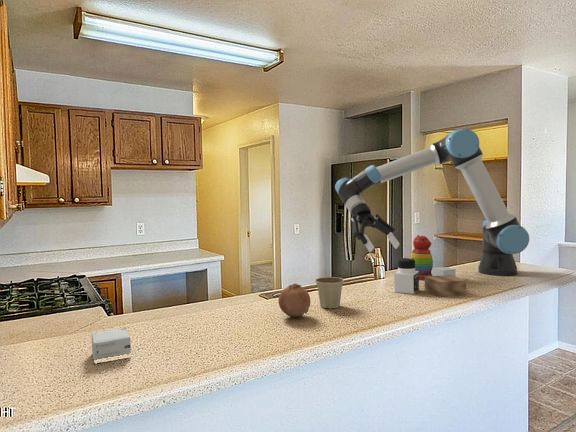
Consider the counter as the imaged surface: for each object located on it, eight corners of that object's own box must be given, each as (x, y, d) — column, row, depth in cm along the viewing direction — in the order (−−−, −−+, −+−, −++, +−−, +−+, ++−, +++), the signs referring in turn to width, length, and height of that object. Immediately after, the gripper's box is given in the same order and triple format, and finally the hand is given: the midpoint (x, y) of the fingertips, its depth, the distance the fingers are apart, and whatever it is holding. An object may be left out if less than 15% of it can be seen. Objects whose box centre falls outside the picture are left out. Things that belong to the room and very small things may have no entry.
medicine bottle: (414, 294, 143) (413, 260, 142) (394, 292, 147) (393, 259, 146) (419, 290, 149) (419, 257, 148) (399, 288, 153) (399, 256, 152)
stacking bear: (438, 280, 165) (438, 236, 164) (413, 280, 165) (413, 237, 164) (430, 275, 175) (429, 234, 174) (406, 275, 176) (406, 234, 175)
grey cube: (444, 281, 163) (443, 266, 162) (455, 284, 157) (455, 269, 157) (432, 283, 160) (432, 268, 160) (443, 286, 155) (443, 270, 154)
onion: (294, 311, 126) (294, 279, 126) (317, 317, 120) (316, 283, 119) (272, 318, 120) (271, 284, 119) (295, 324, 113) (294, 289, 112)
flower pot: (350, 305, 131) (350, 279, 130) (333, 312, 124) (332, 284, 123) (327, 301, 137) (326, 275, 137) (309, 307, 130) (308, 280, 130)
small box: (93, 366, 89) (92, 343, 88) (92, 354, 96) (91, 332, 95) (131, 358, 92) (130, 336, 92) (127, 347, 99) (126, 327, 99)
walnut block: (450, 288, 150) (450, 275, 150) (465, 294, 141) (465, 280, 140) (424, 290, 149) (424, 276, 149) (438, 296, 139) (438, 282, 139)
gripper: (376, 213, 177) (402, 251, 165) (330, 216, 164) (355, 257, 152) (384, 201, 172) (412, 239, 160) (338, 203, 159) (365, 244, 147)
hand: (385, 248), depth 156 cm, fingers open, 13 cm apart
